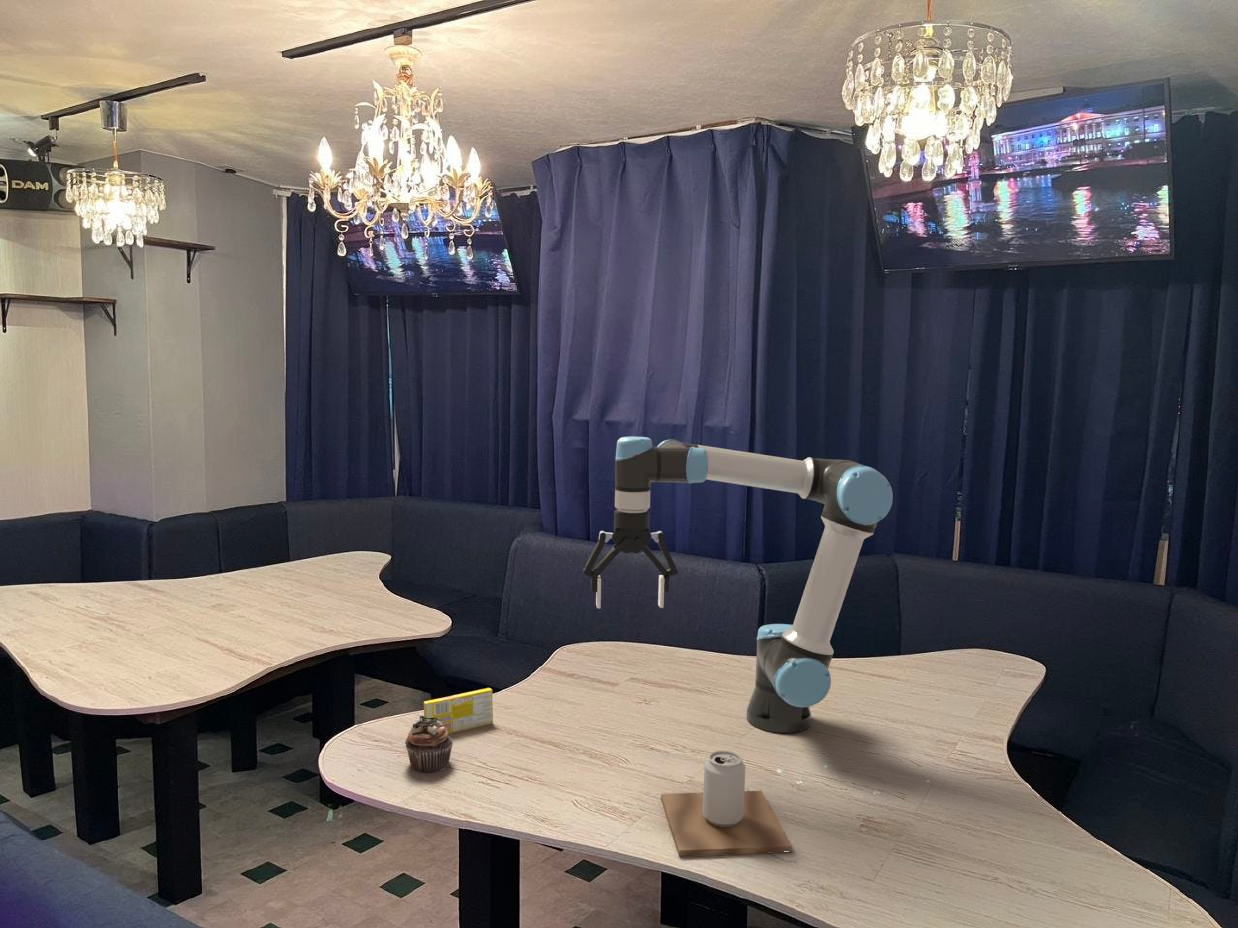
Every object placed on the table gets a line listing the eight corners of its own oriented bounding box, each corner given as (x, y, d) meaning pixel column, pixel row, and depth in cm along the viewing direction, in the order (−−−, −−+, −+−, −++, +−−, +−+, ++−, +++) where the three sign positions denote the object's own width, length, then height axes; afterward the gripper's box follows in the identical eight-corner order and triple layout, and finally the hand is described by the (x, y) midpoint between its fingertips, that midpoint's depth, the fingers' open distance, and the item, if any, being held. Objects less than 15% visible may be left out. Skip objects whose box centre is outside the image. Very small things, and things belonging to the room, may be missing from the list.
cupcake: (450, 774, 184) (450, 727, 183) (402, 775, 184) (401, 728, 182) (455, 753, 194) (455, 708, 193) (409, 754, 193) (409, 709, 192)
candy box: (489, 720, 211) (489, 686, 210) (493, 724, 210) (493, 689, 209) (423, 735, 203) (423, 700, 202) (426, 739, 201) (426, 703, 200)
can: (699, 808, 171) (701, 747, 169) (738, 807, 171) (741, 747, 170) (706, 829, 163) (708, 766, 162) (747, 828, 164) (749, 765, 162)
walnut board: (761, 796, 178) (761, 790, 178) (791, 852, 159) (791, 845, 159) (660, 799, 176) (661, 793, 176) (678, 856, 156) (679, 850, 156)
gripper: (686, 506, 198) (683, 601, 200) (572, 506, 195) (570, 601, 198) (693, 512, 190) (689, 610, 193) (574, 512, 188) (572, 611, 190)
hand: (629, 606), depth 195 cm, fingers open, 13 cm apart
